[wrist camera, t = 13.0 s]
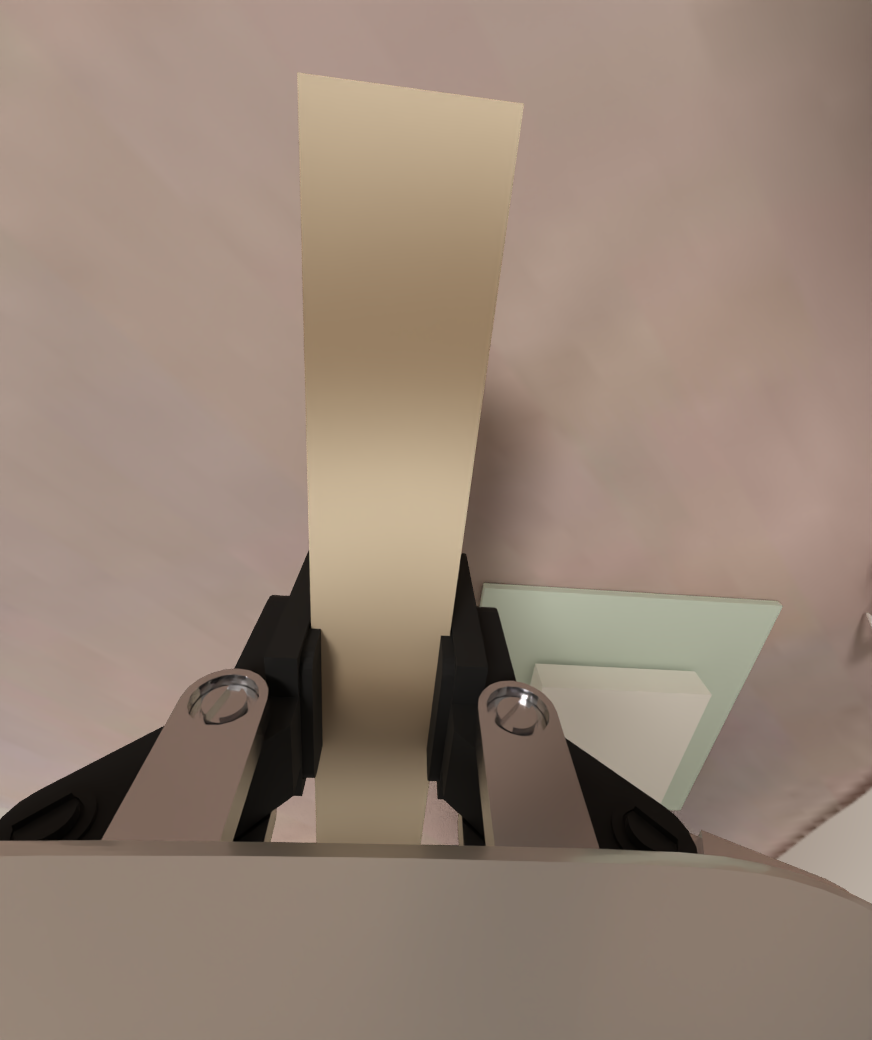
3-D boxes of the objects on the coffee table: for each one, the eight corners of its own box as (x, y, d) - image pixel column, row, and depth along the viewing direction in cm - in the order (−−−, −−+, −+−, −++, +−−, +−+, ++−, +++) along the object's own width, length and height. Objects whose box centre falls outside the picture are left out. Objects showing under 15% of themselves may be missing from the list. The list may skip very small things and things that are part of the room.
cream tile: (542, 686, 21) (507, 824, 26) (712, 694, 22) (649, 827, 26) (534, 660, 23) (502, 794, 27) (692, 668, 23) (636, 798, 28)
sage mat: (483, 582, 21) (484, 587, 21) (777, 600, 22) (783, 605, 22) (448, 797, 28) (448, 804, 27) (676, 803, 29) (680, 810, 28)
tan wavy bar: (348, 161, 9) (297, 71, 5) (480, 177, 9) (523, 102, 5) (340, 796, 16) (319, 939, 13) (409, 798, 17) (407, 940, 13)
